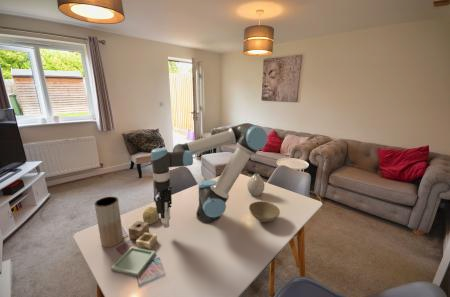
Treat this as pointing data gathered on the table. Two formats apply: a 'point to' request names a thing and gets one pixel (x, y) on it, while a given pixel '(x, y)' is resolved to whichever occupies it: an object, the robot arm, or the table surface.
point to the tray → (133, 261)
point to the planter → (109, 221)
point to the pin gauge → (166, 216)
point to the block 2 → (145, 237)
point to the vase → (255, 185)
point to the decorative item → (150, 215)
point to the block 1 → (138, 229)
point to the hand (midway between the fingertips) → (166, 220)
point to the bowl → (264, 211)
